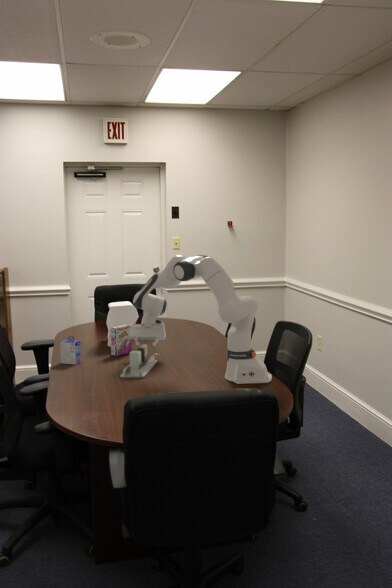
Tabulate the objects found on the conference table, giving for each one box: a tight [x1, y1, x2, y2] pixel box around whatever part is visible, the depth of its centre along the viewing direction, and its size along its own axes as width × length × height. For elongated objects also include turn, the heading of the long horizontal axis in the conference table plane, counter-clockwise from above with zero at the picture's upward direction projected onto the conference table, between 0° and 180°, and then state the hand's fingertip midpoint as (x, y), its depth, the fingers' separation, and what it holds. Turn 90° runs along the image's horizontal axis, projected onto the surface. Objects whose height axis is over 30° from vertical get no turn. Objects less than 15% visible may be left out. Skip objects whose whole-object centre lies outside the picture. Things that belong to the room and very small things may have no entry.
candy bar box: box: [110, 325, 132, 357], centre depth 282 cm, size 11×5×16 cm, turn 134°
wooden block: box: [136, 343, 149, 365], centre depth 258 cm, size 4×6×10 cm
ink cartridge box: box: [59, 335, 82, 365], centre depth 266 cm, size 10×6×14 cm, turn 70°
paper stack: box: [106, 300, 140, 348], centre depth 308 cm, size 21×27×26 cm
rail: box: [119, 350, 158, 379], centre depth 253 cm, size 12×28×11 cm, turn 172°
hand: (145, 345), depth 267 cm, fingers open, 8 cm apart
